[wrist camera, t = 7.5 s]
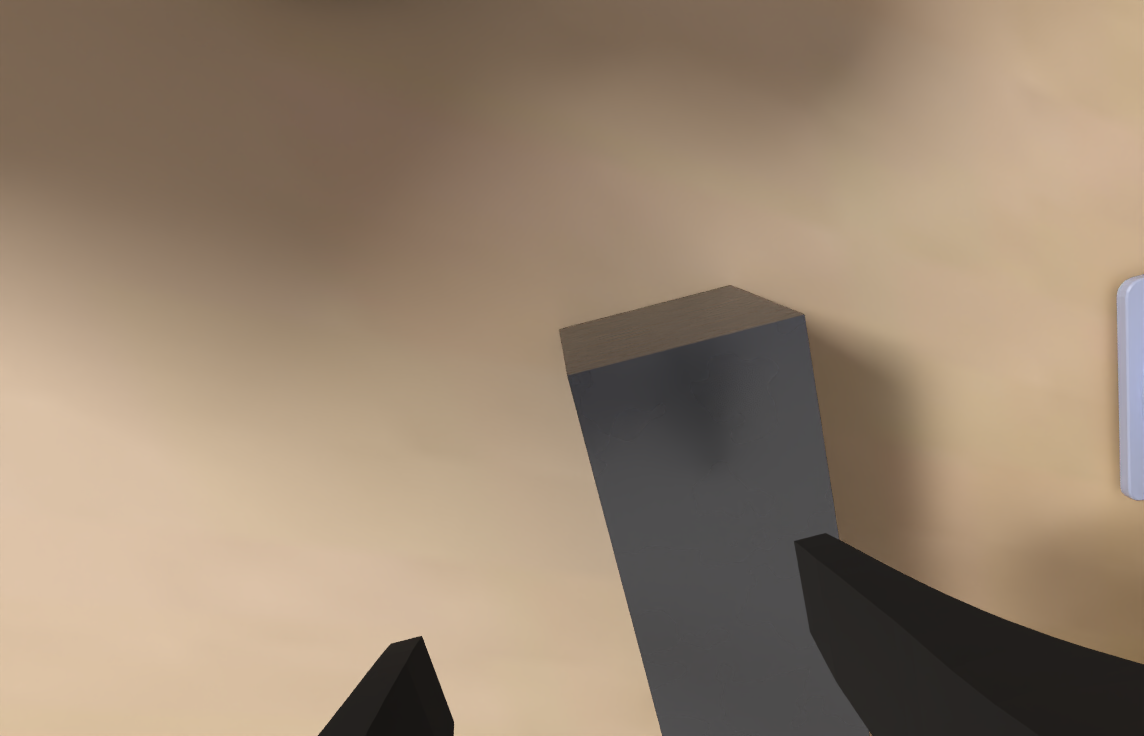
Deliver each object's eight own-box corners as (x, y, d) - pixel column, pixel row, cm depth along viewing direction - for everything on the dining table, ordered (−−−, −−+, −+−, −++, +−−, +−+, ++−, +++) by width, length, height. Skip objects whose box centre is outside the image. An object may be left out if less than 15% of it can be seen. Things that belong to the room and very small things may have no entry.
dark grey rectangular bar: (730, 285, 20) (804, 314, 14) (797, 647, 23) (876, 782, 18) (559, 329, 20) (567, 375, 14) (652, 684, 23) (687, 830, 18)
